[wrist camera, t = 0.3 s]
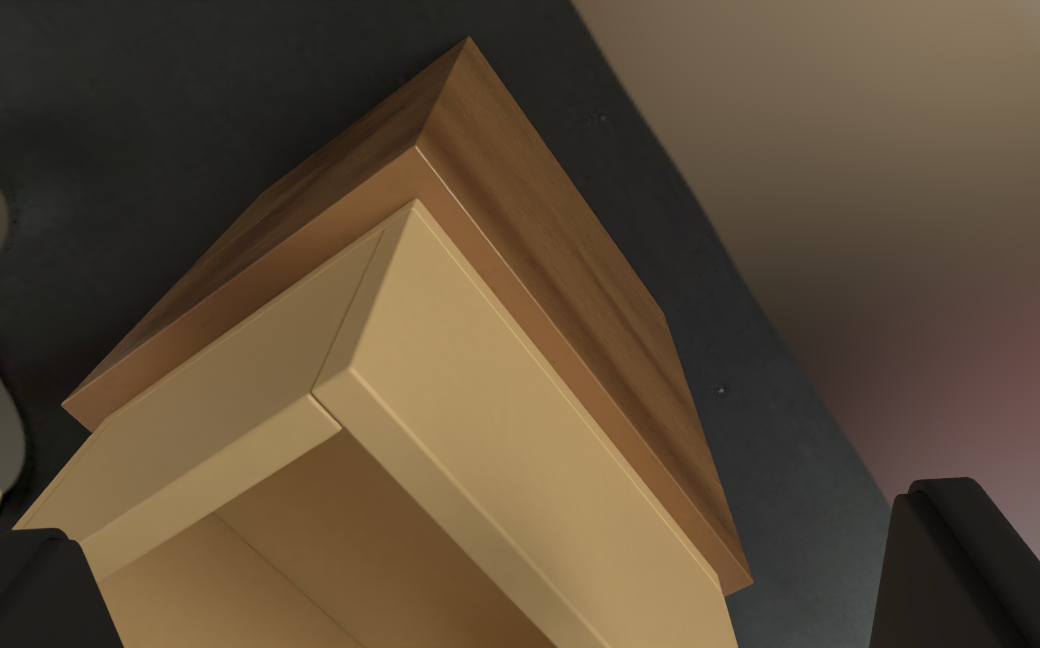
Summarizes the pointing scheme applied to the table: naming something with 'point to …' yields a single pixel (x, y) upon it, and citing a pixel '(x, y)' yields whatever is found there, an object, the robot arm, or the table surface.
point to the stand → (492, 253)
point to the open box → (377, 482)
